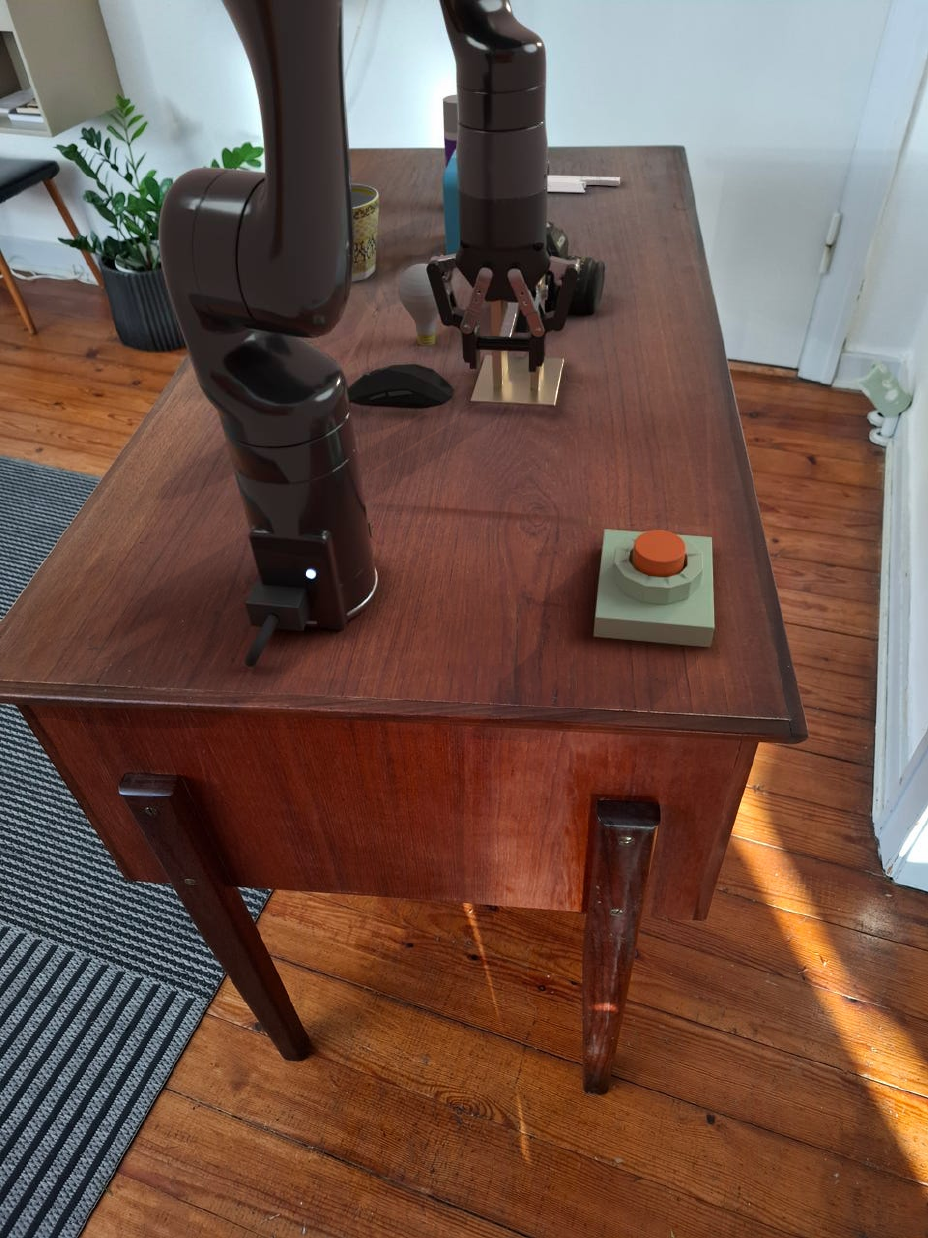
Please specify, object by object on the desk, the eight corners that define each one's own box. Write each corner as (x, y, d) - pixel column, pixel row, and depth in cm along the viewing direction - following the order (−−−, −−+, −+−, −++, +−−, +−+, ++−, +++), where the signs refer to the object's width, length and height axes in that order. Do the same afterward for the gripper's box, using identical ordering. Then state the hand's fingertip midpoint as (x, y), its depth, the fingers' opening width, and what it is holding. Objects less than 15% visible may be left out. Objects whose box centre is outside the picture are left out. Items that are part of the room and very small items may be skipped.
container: (443, 204, 140) (436, 97, 129) (470, 198, 141) (465, 92, 131) (455, 214, 137) (450, 104, 126) (482, 208, 138) (479, 99, 127)
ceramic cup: (396, 278, 121) (388, 201, 114) (325, 293, 118) (312, 215, 111) (367, 245, 130) (359, 171, 123) (301, 258, 127) (288, 184, 120)
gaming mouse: (327, 384, 101) (322, 351, 98) (457, 386, 99) (455, 353, 97) (314, 414, 96) (308, 380, 94) (450, 417, 95) (448, 383, 92)
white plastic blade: (616, 193, 139) (617, 186, 139) (522, 191, 142) (522, 184, 141) (620, 182, 143) (620, 174, 142) (527, 180, 146) (527, 172, 145)
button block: (710, 647, 69) (718, 610, 66) (593, 636, 70) (596, 599, 68) (708, 556, 77) (715, 519, 74) (602, 548, 78) (605, 511, 75)
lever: (529, 359, 84) (529, 336, 83) (477, 357, 85) (476, 334, 83) (544, 296, 92) (544, 274, 90) (496, 294, 93) (495, 272, 91)
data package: (459, 234, 131) (455, 145, 122) (490, 234, 130) (488, 145, 122) (446, 268, 122) (441, 175, 114) (479, 268, 122) (476, 175, 113)
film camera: (613, 343, 105) (619, 258, 98) (508, 347, 105) (507, 264, 98) (595, 279, 118) (600, 200, 111) (502, 283, 118) (500, 205, 111)
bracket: (554, 414, 94) (557, 297, 85) (470, 409, 96) (465, 294, 87) (563, 367, 101) (567, 254, 92) (485, 364, 103) (482, 252, 94)
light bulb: (444, 361, 104) (439, 276, 97) (399, 358, 105) (390, 274, 98) (454, 339, 107) (449, 256, 100) (410, 336, 108) (403, 254, 101)
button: (683, 580, 69) (686, 563, 68) (631, 576, 70) (633, 559, 69) (683, 548, 72) (686, 531, 71) (633, 544, 73) (635, 527, 72)
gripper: (408, 193, 73) (423, 382, 84) (585, 196, 70) (575, 390, 82) (427, 163, 78) (439, 345, 90) (592, 165, 76) (582, 352, 87)
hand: (504, 366), depth 86 cm, fingers closed on lever, 5 cm apart
